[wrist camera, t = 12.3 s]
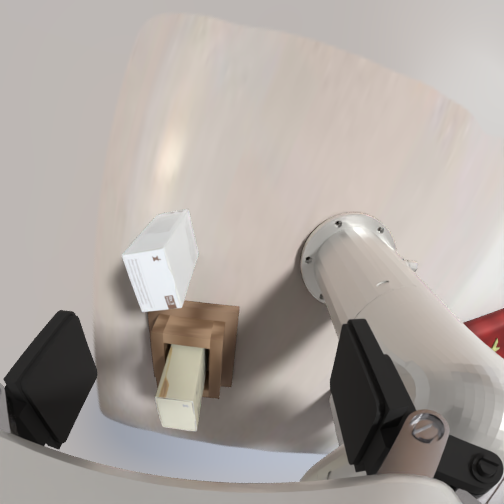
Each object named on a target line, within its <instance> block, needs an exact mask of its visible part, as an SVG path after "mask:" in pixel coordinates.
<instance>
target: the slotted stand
mask: <svg viewBox="0 0 504 504" xmlns="http://www.w3.org/2000/svg"><path fill="white" fill-rule="evenodd" d="M238 316H239V306H229V305H219V304H210V303H201V302H193V301H184V303H183V306H182V308H177V309H168V310H159V311H149V312H148V321H149V332H150V342H151V352H152V361H153V369H154V377H156V381H157V388H158V386H159V382H160V379H161V376H162V373H163V369H164V366H165V363H166V360H167V356H168V353H169V350H170V347H171V344H175V345H183V346H190V347H198V348H206V349H207V353H208V364H207V370H206V376H205V382H204V389H203V395H202V397H209V398H218V399H219V394H220V386H224V387H231V385H232V375H233V365H234V355H235V345H236V336H237V326H238Z"/></svg>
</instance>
